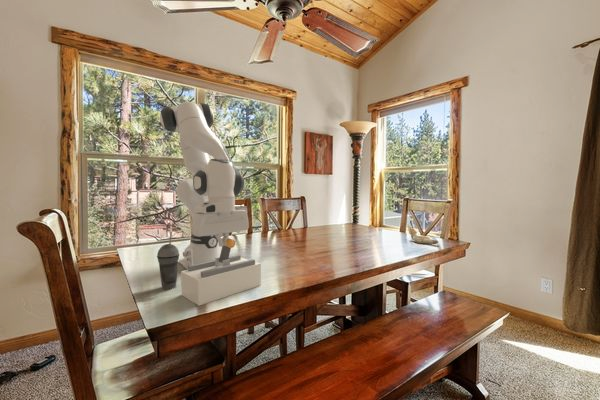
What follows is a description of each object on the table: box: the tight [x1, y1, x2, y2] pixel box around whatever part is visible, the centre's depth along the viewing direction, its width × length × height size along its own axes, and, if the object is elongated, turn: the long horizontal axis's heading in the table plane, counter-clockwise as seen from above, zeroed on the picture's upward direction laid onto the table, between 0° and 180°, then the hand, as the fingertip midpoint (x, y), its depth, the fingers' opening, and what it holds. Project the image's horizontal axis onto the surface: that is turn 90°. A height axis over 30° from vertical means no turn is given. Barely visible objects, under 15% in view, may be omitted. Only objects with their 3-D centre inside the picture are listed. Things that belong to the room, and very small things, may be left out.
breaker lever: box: [219, 237, 236, 263], centre depth 100 cm, size 5×3×8 cm, turn 46°
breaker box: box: [180, 257, 262, 307], centre depth 99 cm, size 12×24×11 cm, turn 136°
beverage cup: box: [156, 231, 180, 290], centre depth 101 cm, size 7×7×20 cm
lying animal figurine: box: [407, 224, 439, 245], centre depth 177 cm, size 9×21×10 cm, turn 31°
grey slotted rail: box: [187, 254, 256, 278], centre depth 99 cm, size 11×20×2 cm, turn 136°
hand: (222, 246), depth 98 cm, fingers closed
